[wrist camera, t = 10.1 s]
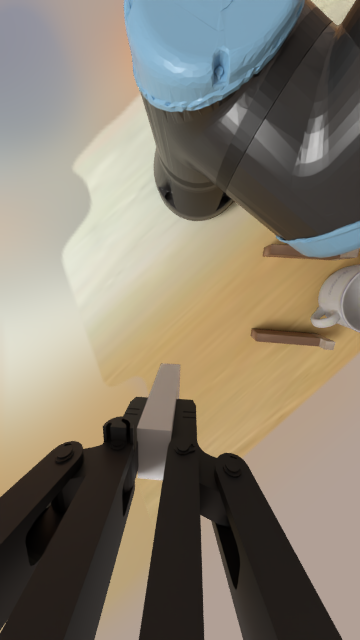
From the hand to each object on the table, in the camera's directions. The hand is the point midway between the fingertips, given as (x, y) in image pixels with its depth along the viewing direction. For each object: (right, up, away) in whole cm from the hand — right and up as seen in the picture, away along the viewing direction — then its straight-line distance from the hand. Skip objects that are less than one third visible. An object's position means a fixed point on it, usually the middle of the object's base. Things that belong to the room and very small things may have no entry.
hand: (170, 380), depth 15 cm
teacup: (+30, +9, +21) cm, 37 cm away
